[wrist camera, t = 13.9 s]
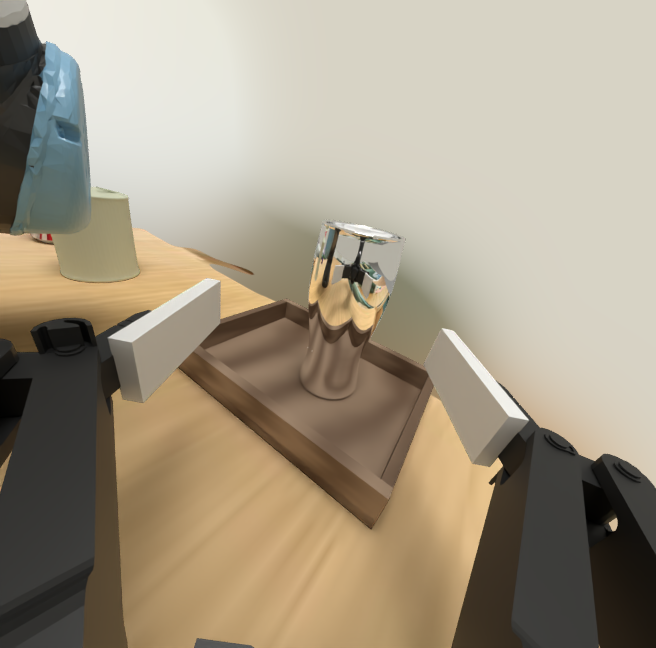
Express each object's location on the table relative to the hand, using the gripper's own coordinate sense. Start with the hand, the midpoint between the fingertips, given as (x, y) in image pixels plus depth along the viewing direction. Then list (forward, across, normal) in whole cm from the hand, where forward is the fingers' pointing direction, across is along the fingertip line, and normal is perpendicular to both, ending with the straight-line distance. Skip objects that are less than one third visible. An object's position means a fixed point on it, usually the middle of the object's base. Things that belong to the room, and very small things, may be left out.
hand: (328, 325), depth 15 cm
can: (+23, -35, -11) cm, 43 cm away
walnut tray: (+8, 0, -11) cm, 13 cm away
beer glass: (+7, +2, -10) cm, 13 cm away
